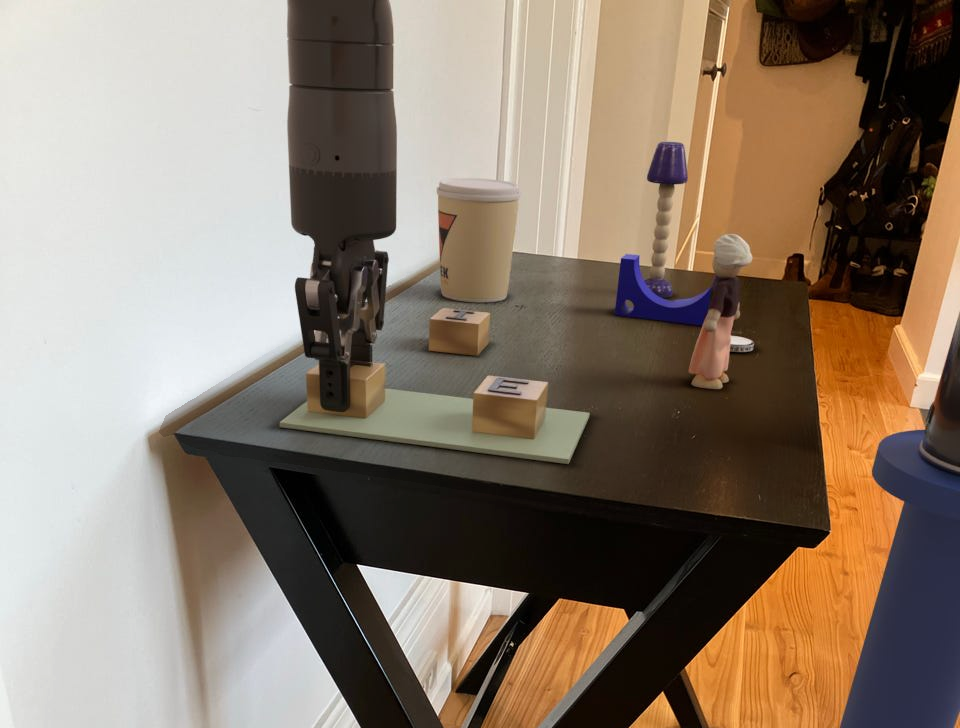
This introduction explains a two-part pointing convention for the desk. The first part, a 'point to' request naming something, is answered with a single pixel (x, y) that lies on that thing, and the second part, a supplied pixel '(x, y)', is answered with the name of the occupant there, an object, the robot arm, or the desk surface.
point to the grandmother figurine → (720, 313)
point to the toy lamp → (664, 208)
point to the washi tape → (741, 344)
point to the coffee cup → (476, 237)
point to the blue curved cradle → (655, 298)
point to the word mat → (446, 427)
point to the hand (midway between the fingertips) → (347, 398)
